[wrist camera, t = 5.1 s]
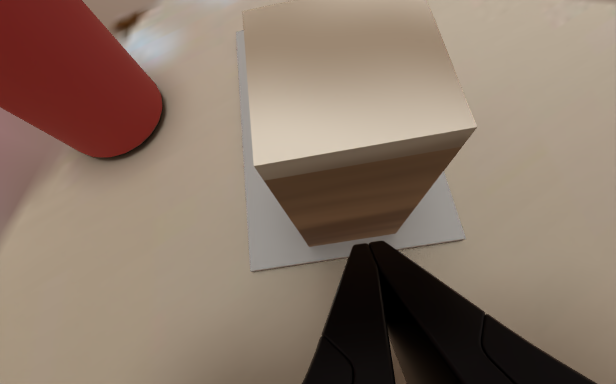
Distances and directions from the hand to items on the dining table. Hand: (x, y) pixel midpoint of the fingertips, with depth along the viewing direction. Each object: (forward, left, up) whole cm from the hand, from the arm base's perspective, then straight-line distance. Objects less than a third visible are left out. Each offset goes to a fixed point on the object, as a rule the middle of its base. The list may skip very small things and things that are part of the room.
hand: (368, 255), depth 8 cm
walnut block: (+4, -1, -7) cm, 8 cm away
